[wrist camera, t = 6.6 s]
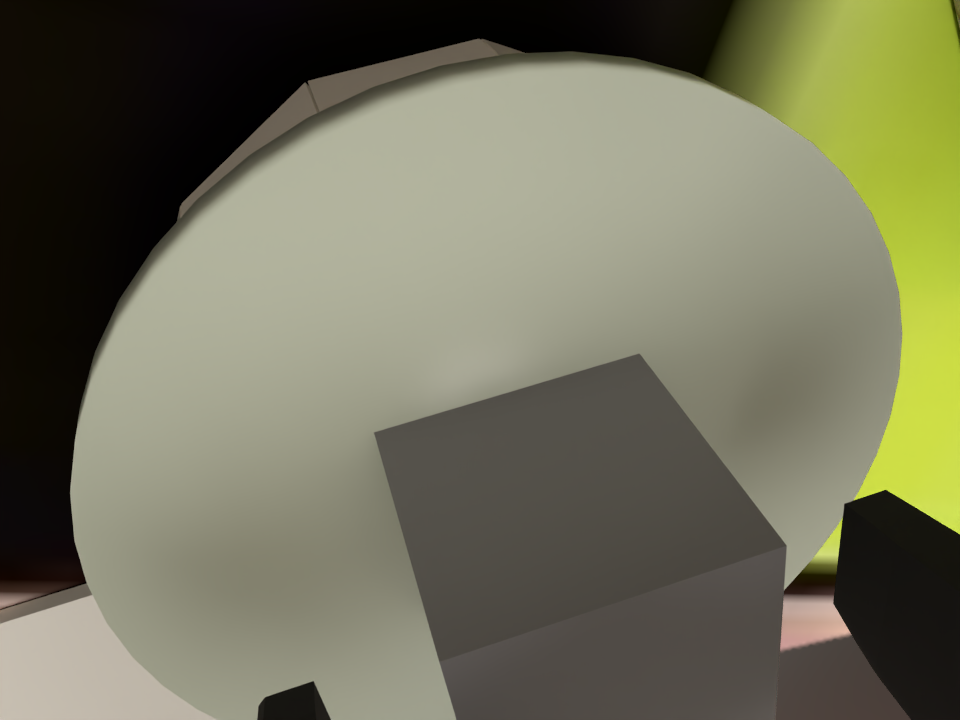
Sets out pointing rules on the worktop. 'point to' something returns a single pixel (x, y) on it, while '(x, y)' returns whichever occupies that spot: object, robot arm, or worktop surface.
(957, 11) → the coffee box
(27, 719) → the mat
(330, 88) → the bowl
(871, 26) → the worktop surface
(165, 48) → the worktop surface
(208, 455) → the lid
